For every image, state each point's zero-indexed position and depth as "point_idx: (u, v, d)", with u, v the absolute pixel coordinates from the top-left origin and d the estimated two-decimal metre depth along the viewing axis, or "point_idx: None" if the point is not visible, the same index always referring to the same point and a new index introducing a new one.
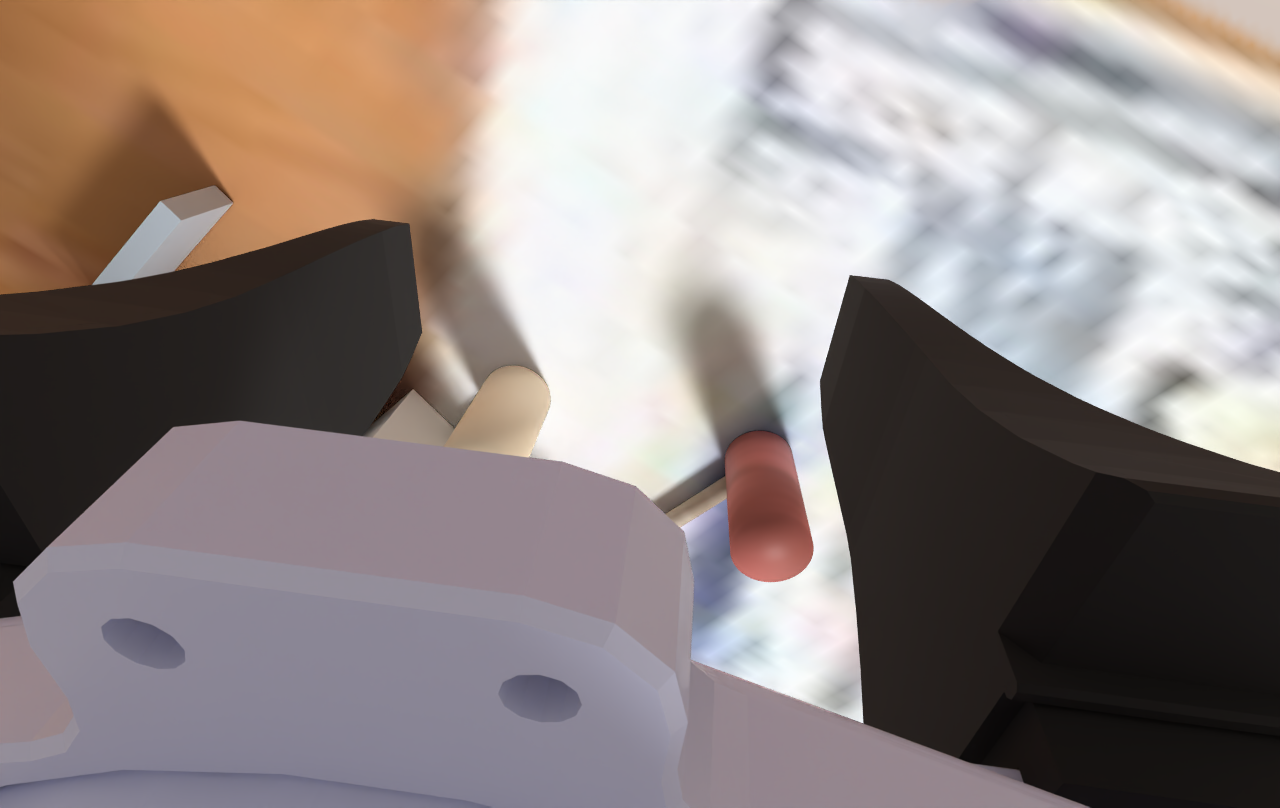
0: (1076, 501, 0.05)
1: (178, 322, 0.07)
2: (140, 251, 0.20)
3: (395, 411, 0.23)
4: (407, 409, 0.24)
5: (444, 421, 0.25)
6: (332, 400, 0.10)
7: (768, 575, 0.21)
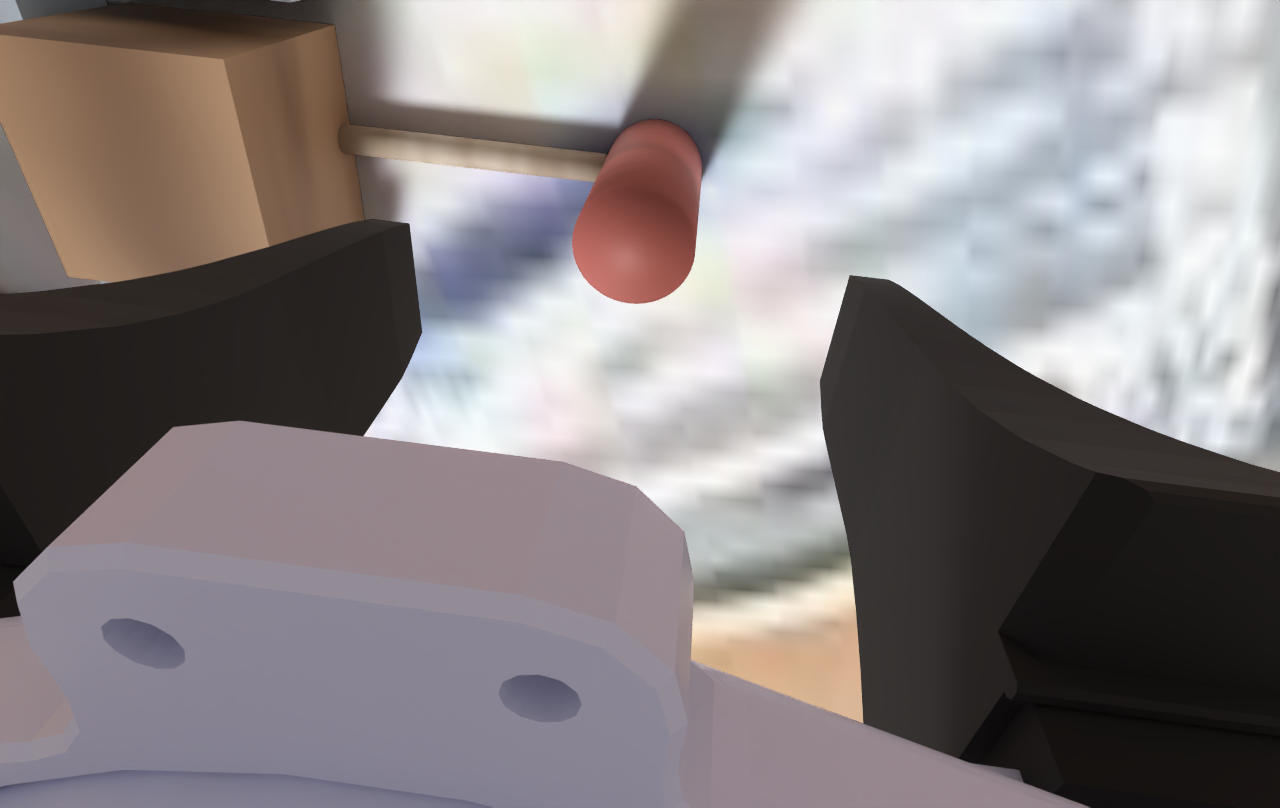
0: (1076, 501, 0.05)
1: (178, 322, 0.07)
2: None
3: None
4: None
5: None
6: (333, 400, 0.10)
7: (599, 278, 0.14)
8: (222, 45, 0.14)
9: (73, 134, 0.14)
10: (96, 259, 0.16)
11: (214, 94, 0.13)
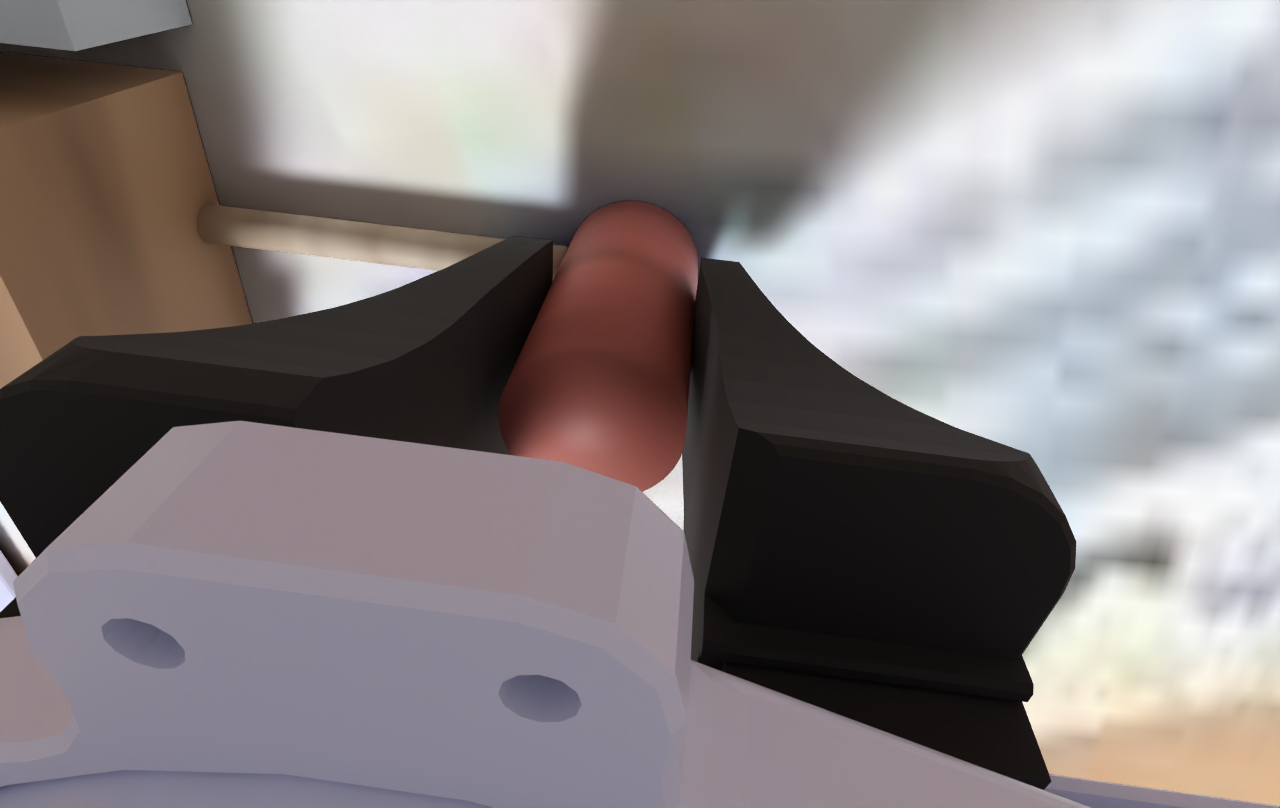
0: (734, 458, 0.05)
1: (423, 352, 0.06)
2: None
3: None
4: None
5: None
6: (498, 421, 0.10)
7: None
8: None
9: None
10: None
11: None
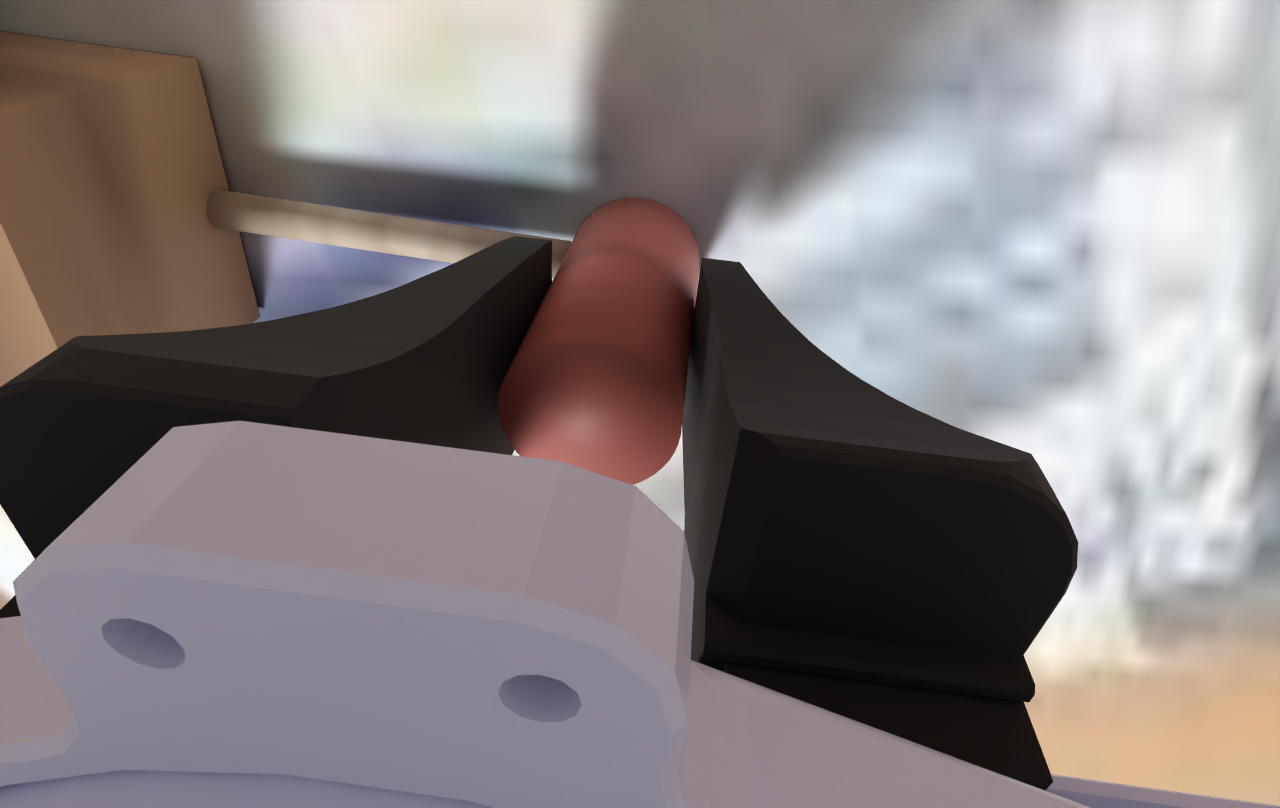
0: (735, 458, 0.05)
1: (422, 352, 0.06)
2: None
3: None
4: None
5: None
6: (497, 420, 0.10)
7: (540, 455, 0.10)
8: None
9: None
10: None
11: None
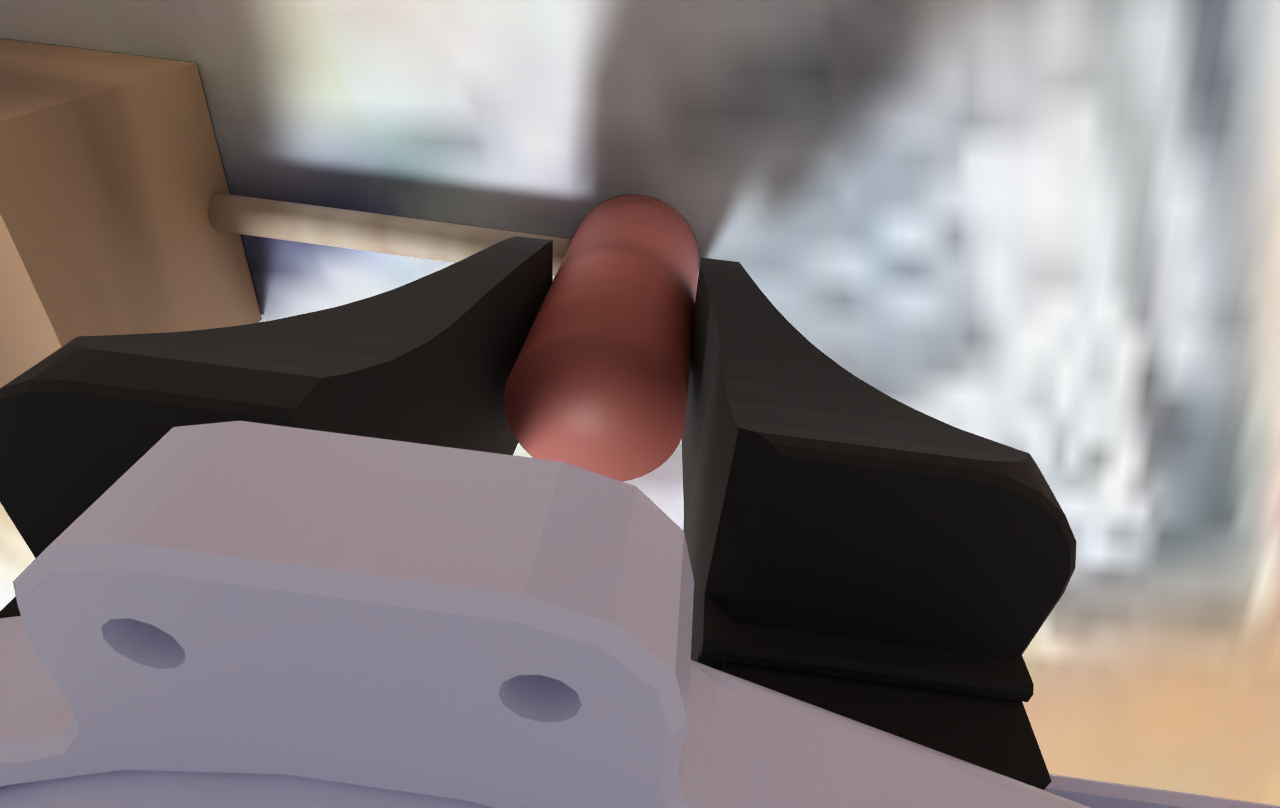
0: (734, 458, 0.05)
1: (423, 352, 0.06)
2: None
3: None
4: None
5: None
6: (497, 420, 0.10)
7: (545, 449, 0.10)
8: None
9: None
10: None
11: None
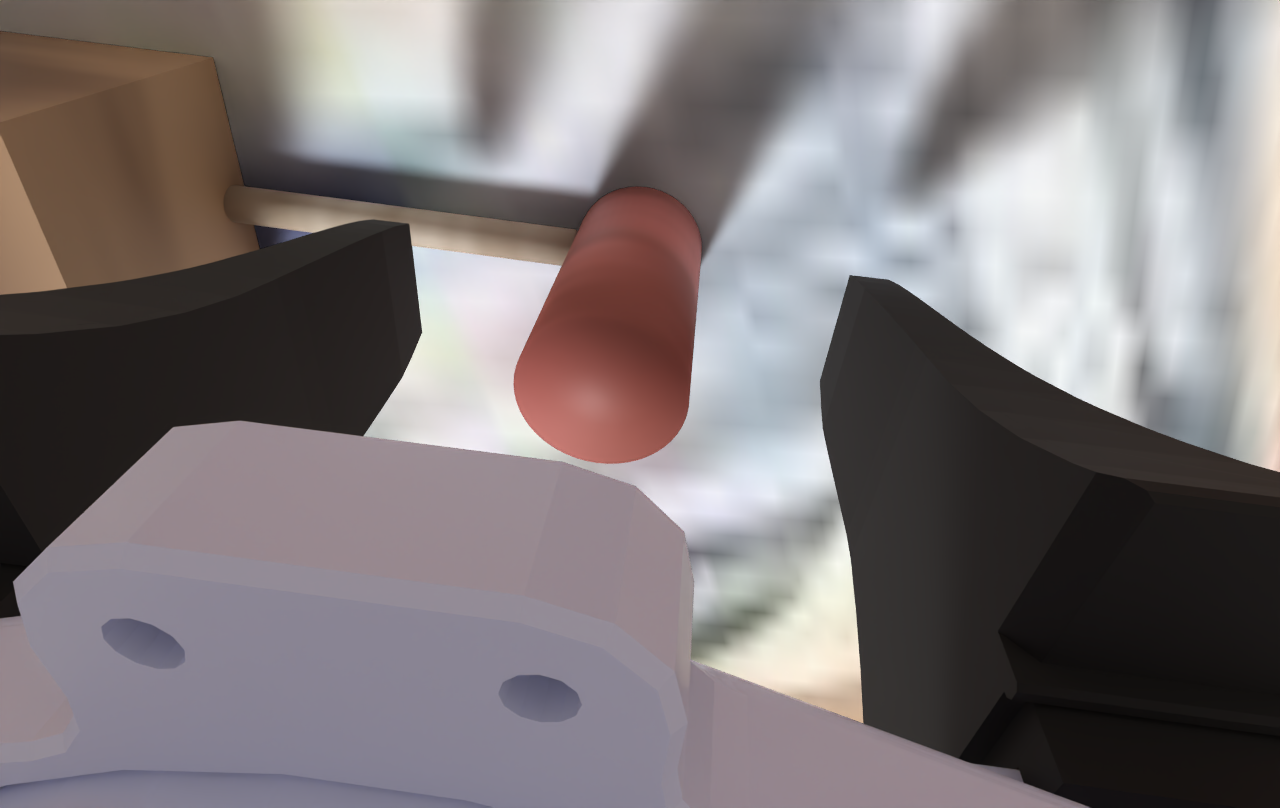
0: (1076, 501, 0.05)
1: (178, 322, 0.07)
2: None
3: None
4: None
5: None
6: (332, 401, 0.10)
7: (554, 430, 0.10)
8: (16, 96, 0.10)
9: None
10: None
11: None
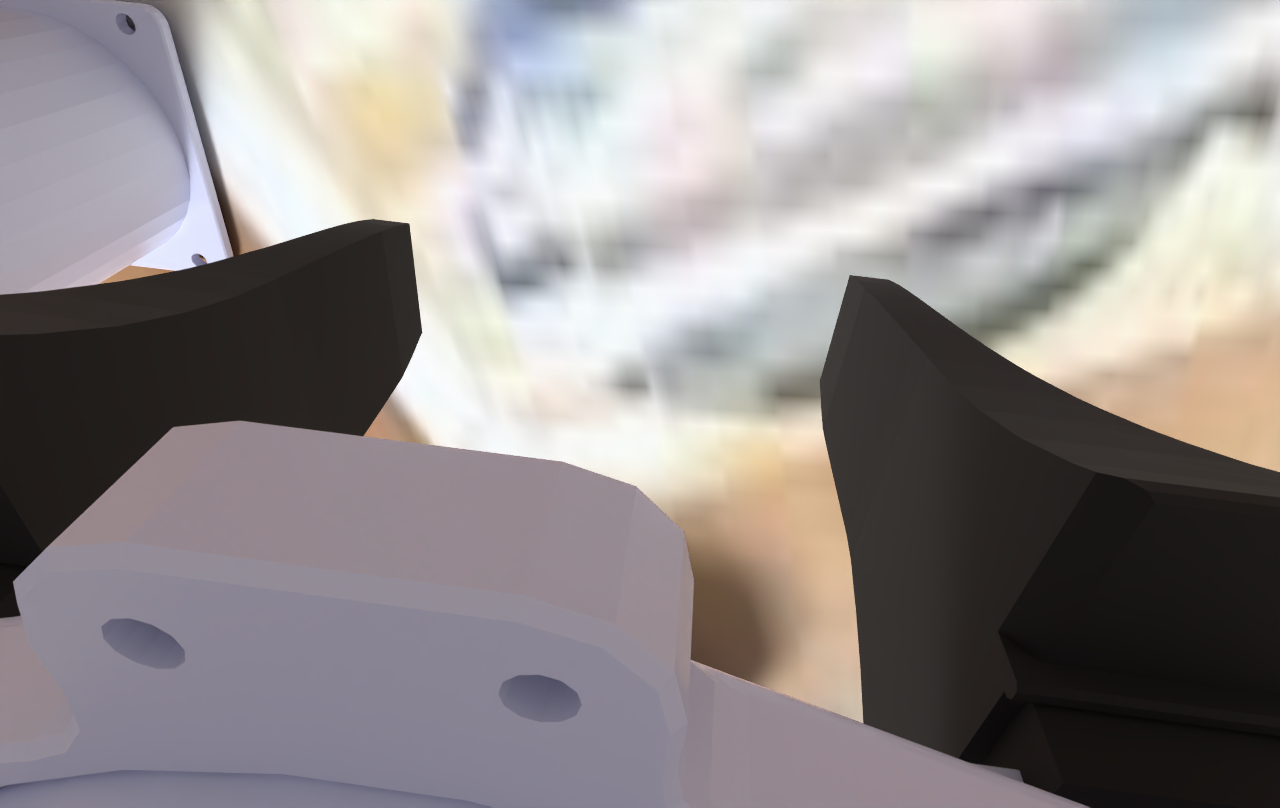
0: (1076, 501, 0.05)
1: (178, 322, 0.07)
2: None
3: None
4: None
5: None
6: (333, 400, 0.10)
7: None
8: None
9: None
10: None
11: None
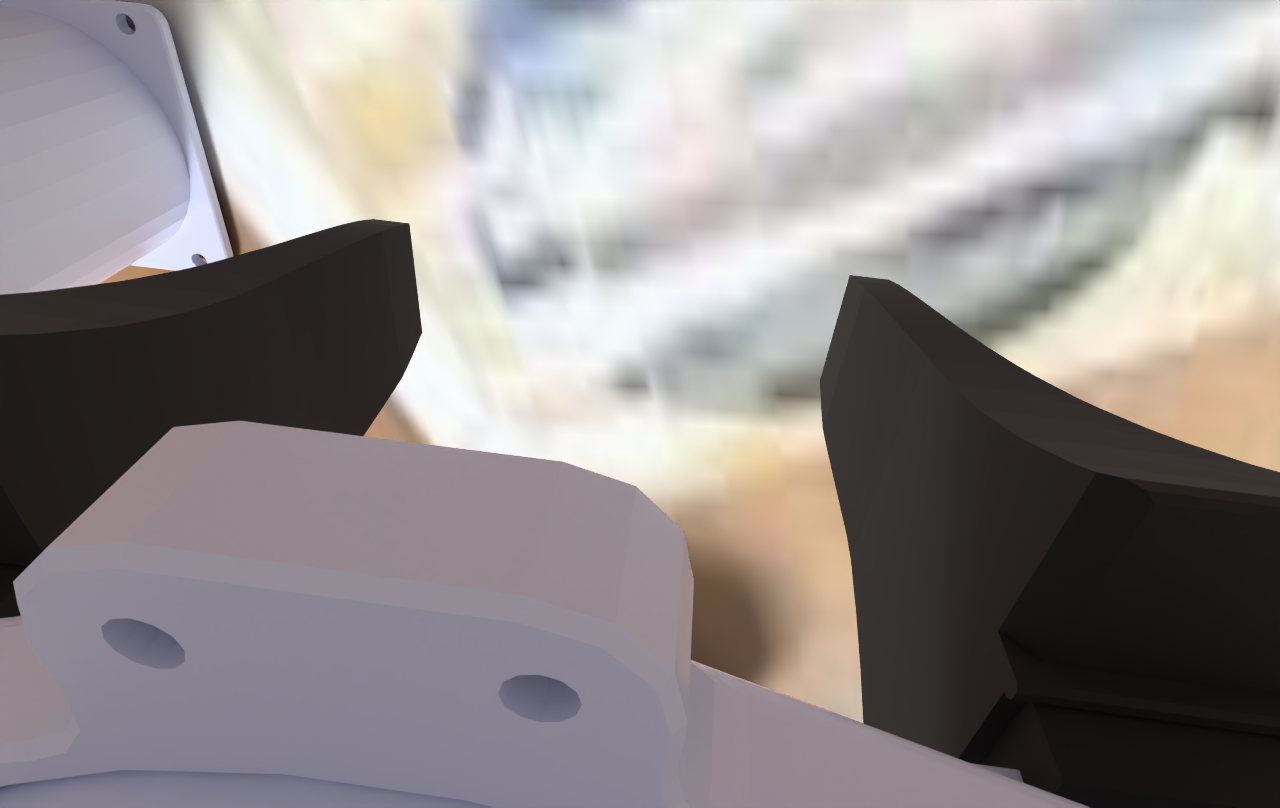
0: (1076, 501, 0.05)
1: (178, 322, 0.07)
2: None
3: None
4: None
5: None
6: (333, 400, 0.10)
7: None
8: None
9: None
10: None
11: None
